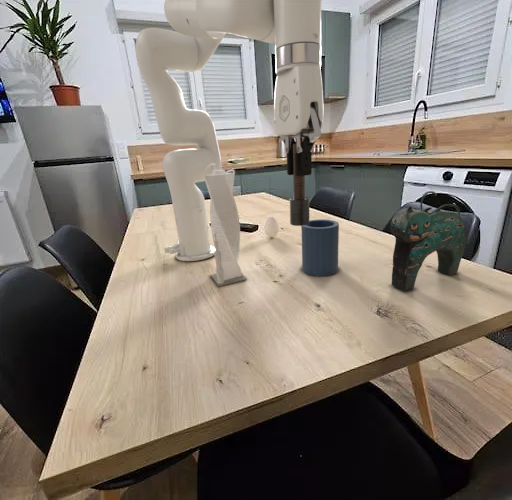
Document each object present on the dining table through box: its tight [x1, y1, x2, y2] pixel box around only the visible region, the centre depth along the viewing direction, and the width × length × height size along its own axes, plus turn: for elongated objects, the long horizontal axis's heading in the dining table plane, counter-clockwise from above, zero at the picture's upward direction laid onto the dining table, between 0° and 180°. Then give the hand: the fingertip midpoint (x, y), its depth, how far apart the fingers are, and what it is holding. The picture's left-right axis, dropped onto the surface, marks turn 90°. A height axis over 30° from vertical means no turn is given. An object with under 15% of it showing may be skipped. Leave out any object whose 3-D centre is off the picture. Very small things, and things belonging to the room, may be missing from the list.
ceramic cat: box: [390, 190, 467, 292], centre depth 63 cm, size 20×6×20 cm, turn 114°
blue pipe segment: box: [300, 218, 340, 277], centre depth 74 cm, size 9×9×12 cm
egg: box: [263, 215, 280, 238], centre depth 105 cm, size 5×5×8 cm
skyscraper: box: [204, 163, 247, 287], centre depth 71 cm, size 8×8×28 cm
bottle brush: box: [289, 144, 310, 227], centre depth 57 cm, size 4×4×15 cm
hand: (299, 174), depth 56 cm, fingers closed on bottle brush, 2 cm apart
